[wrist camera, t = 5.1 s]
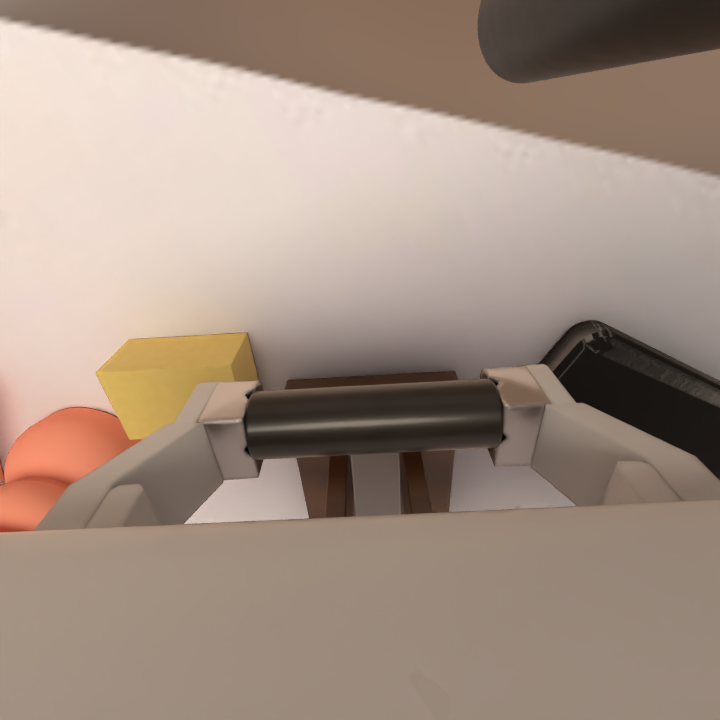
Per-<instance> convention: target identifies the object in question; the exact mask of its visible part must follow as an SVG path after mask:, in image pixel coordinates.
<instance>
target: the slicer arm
mask: <svg viewBox="0 0 720 720" xmlns="http://www.w3.org/2000/svg"><path fill="white" fill-rule="evenodd" d="M503 427H504V420H503V409H502V403H501V399H500V395H499V392H498V389H497V387H496V385H495V383H494V382H493V381H492V380H489V379H473V380H455V381H437V382H419V383H400V384H382V385H364V386H345V387H327V388H309V389H290V390H272V391H256V392H254V393H252V394H251V396H250V397H249V400H248V403H247V407H246V414H245V437H246V443H247V447H248V450H249V453H250V455H251V456H252V458H254V459H257V460H262V459H282V458H301V457H321V456H341V455H351V466H352V477H353V488H354V499H355V511H356V516H374V515H396V514H401V505H400V467H399V453H401V452H421V451H441V450H461V449H481V448H495V447H497V446H498V445H499V444H500V442H501V440H502V436H503Z"/></svg>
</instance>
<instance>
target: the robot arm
mask: <svg viewBox="0 0 720 720" xmlns="http://www.w3.org/2000/svg"><path fill="white" fill-rule="evenodd" d="M480 379H489V380H492V381H493V382H494V383H495V385H496V387H497V389H498V392H499V395H500V399H501V403H502V409H503V420H504V427H503V436H502V440H501V442H500V444H499V445H498V446H497V447H495V448H488V451H489V453H490V456H491V458H492V461H493V463H494V466H531V468H533V469H534V470H535V471H536V472H537V473H539V474H540V475H541V476H542V477H543V478H545V479H546V480H547V481H548V482H549V483H550V484H552V485H553V486H554V487H555V488H556V489H558V490H559V491H560V492H561V493H562V494H564V495H565V496H566V497H567V498H568V499H570V500H571V501H572V502H573V503H574V504H576V505H577V507H554V508H531V509H508V510H485V511H462V512H439V513H417V514H396V515H374V516H353V517H331V518H309V519H288V520H266V521H244V522H222V523H200V524H184V523H185V522H186V521H187V520H188V519H189V518H190V517H191V515H192V514H193V513H194V512H195V511H196V510H197V509H198V508H199V507H200V506H201V505H202V504H203V503H204V502H205V501H206V500H207V499H208V498H209V497H210V496H211V495H212V494H213V493H214V492H215V491H216V489H217V488H218V487H219V486H220V485H221V484H222V483H223V480H233V479H246V478H258V477H259V473H260V470H261V466H262V462H263V459H262V460H257V459H254V458H252V456H251V455H250V453H249V450H248V447H247V443H246V437H245V414H246V407H247V403H248V400H249V397H250V396H251V394H252V393H254V392H256V391H264V390H263V387H262V383H261V382H260V381H230V382H207V383H200V384H197V386H196V387H195V389H194V391H193V392H192V394H191V395H190V397H189V399H188V400H187V402H186V404H185V405H184V407H183V409H182V410H181V412H180V414H179V415H178V417H177V419H176V420H175V422H174V424H167V425H165V426H164V427H162V428H160V429H159V430H157V431H156V432H154V433H152V434H151V435H149V436H148V437H146V438H144V439H143V440H141V441H140V442H138V443H136V444H135V445H133V446H132V447H130V448H128V449H127V450H125V451H124V452H122V453H120V454H119V455H117V456H116V457H114V458H112V459H111V460H109V461H108V462H106V463H104V464H103V465H101V466H100V467H98V468H96V469H95V470H93V471H92V472H90V473H88V474H87V475H85V476H84V477H82V478H80V479H79V480H77V481H76V482H74V483H72V484H71V485H69V486H68V487H67V489H66V490H65V491H64V492H63V494H62V495H61V496H60V498H59V499H58V500H57V501H56V503H55V504H54V505H53V506H52V508H51V509H50V510H49V512H48V513H47V514H46V515H45V517H44V518H43V519H42V520H41V522H40V523H39V524H38V526H37V527H36V528H35V529H34V531H23V532H1V533H0V720H720V480H719V479H718V478H717V477H716V476H715V475H714V474H713V473H712V472H711V471H710V470H709V469H708V468H707V467H706V466H705V465H704V464H703V463H702V462H701V461H700V460H699V459H698V458H697V457H696V456H694V455H692V454H690V453H687V452H685V451H683V450H681V449H679V448H677V447H675V446H673V445H671V444H669V443H666V442H664V441H662V440H660V439H658V438H656V437H654V436H652V435H650V434H648V433H645V432H643V431H641V430H639V429H637V428H635V427H633V426H631V425H629V424H627V423H624V422H622V421H620V420H618V419H616V418H614V417H612V416H610V415H608V414H606V413H603V412H601V411H599V410H597V409H595V408H593V407H591V406H589V405H587V404H585V403H576V402H575V400H574V399H573V398H572V397H571V395H570V394H569V393H568V392H567V390H566V389H565V388H564V386H563V385H562V384H561V383H560V381H559V380H558V379H557V378H556V376H555V375H554V374H553V372H552V371H551V370H550V369H549V367H548V366H547V365H544V364H537V365H526V366H517V367H503V368H489V369H482V371H481V374H480Z"/></svg>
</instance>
